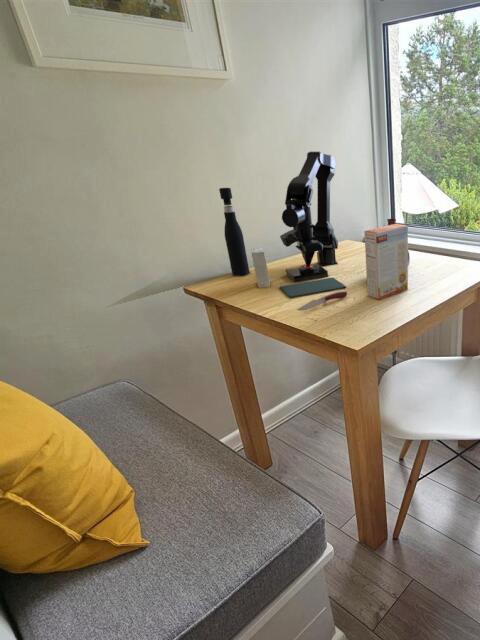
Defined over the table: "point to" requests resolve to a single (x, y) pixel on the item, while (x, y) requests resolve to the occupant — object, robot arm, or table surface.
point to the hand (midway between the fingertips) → (308, 266)
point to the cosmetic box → (260, 267)
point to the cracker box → (386, 260)
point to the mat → (312, 287)
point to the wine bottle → (234, 237)
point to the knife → (323, 300)
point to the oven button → (308, 267)
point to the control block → (306, 273)
